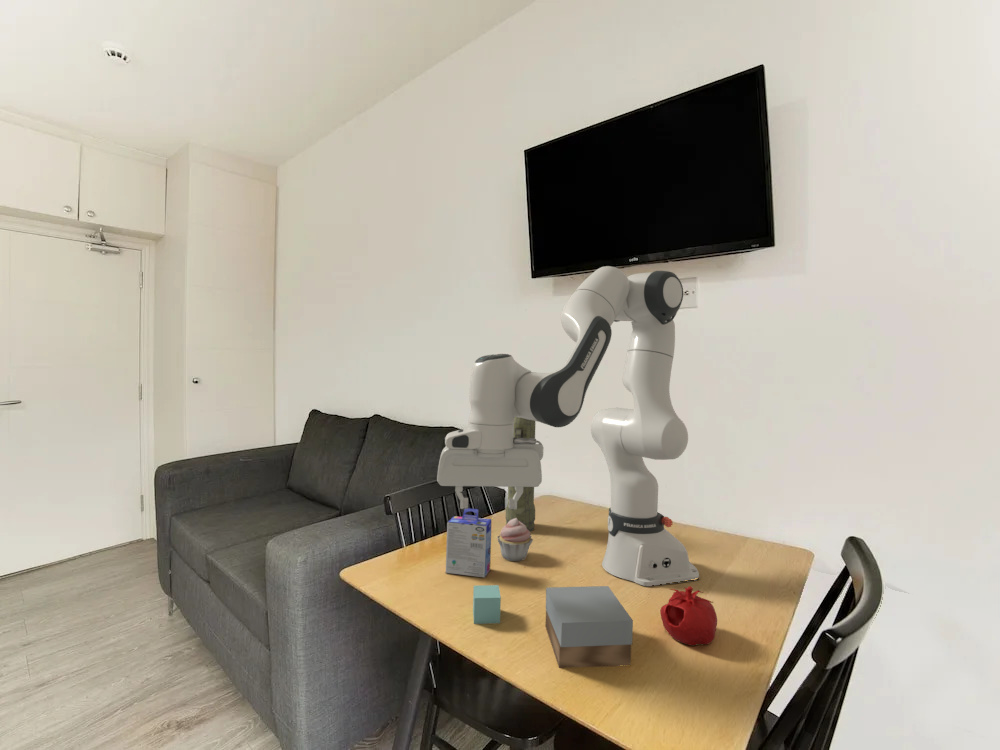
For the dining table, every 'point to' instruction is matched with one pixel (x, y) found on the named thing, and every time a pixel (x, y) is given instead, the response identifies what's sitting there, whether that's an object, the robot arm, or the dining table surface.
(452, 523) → the ink cartridge box
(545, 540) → the dining table surface
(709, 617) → the pomegranate
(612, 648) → the tower bottom slab
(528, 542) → the cupcake
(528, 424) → the thermos
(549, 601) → the tower top slab
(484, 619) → the teal cube
